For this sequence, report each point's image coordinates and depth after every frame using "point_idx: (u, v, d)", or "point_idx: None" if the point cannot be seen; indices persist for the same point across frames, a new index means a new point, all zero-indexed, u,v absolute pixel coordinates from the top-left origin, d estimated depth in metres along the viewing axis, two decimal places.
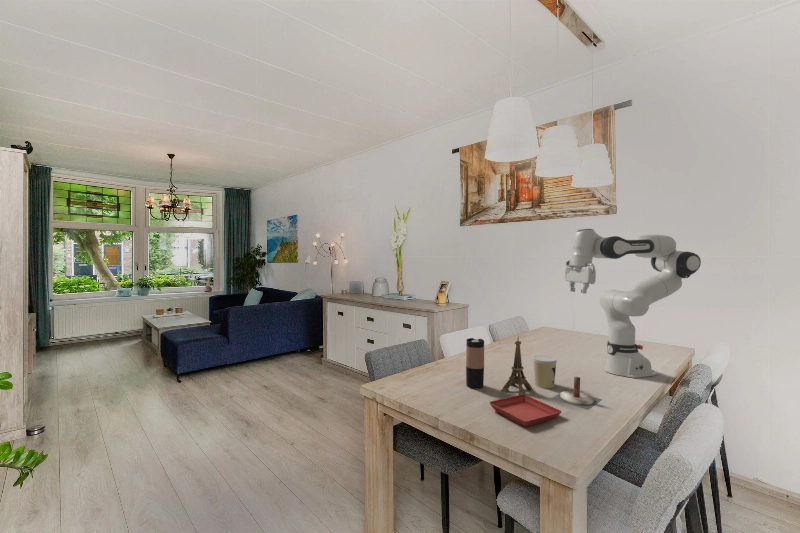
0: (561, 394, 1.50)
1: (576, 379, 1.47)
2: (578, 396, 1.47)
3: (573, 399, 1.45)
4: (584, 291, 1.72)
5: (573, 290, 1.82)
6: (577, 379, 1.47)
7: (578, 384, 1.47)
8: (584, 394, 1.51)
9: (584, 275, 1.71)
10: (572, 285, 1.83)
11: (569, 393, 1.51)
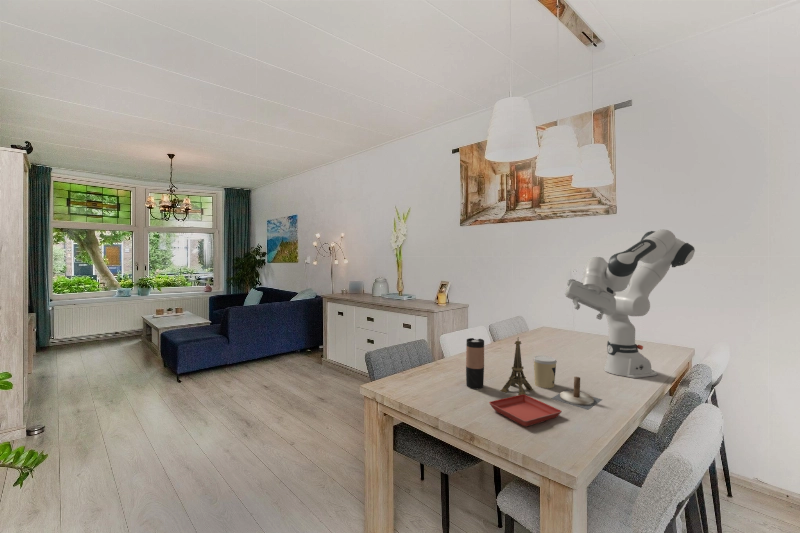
0: (561, 394, 1.50)
1: (576, 379, 1.47)
2: (578, 396, 1.47)
3: (573, 399, 1.45)
4: (575, 306, 1.55)
5: (597, 316, 1.54)
6: (577, 379, 1.47)
7: (578, 384, 1.47)
8: (584, 394, 1.51)
9: None
10: (601, 313, 1.55)
11: (569, 393, 1.51)
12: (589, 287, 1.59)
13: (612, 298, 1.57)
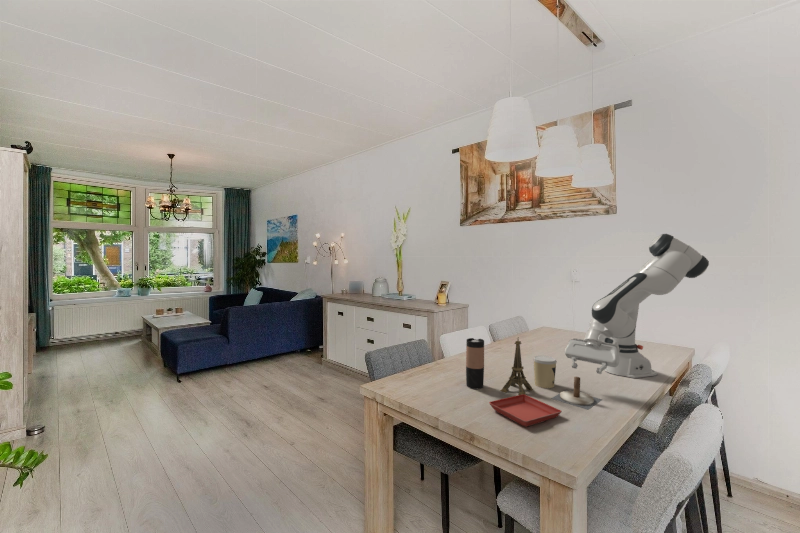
0: (561, 394, 1.50)
1: (576, 379, 1.47)
2: (578, 396, 1.47)
3: (573, 399, 1.45)
4: None
5: None
6: (577, 379, 1.47)
7: (578, 384, 1.47)
8: (584, 394, 1.51)
9: None
10: None
11: (569, 393, 1.51)
12: (587, 342, 1.57)
13: (612, 348, 1.50)
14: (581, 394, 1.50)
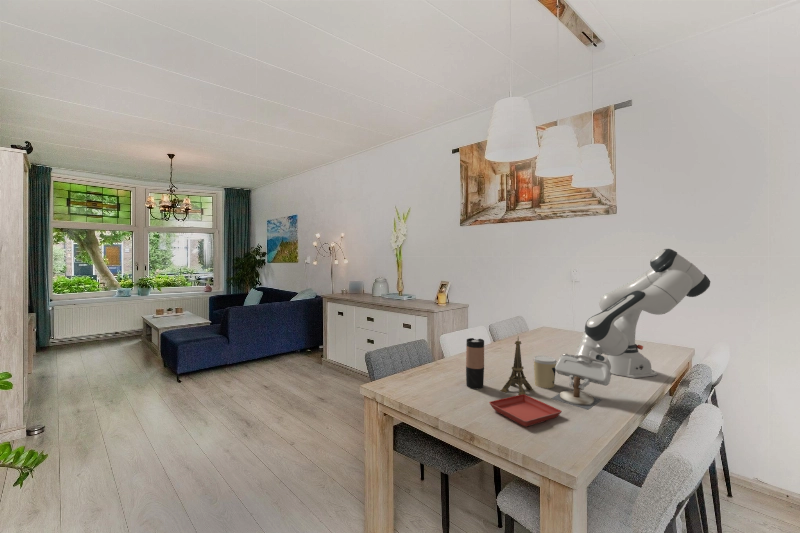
0: (561, 394, 1.50)
1: (576, 379, 1.47)
2: (578, 396, 1.47)
3: (573, 399, 1.45)
4: None
5: None
6: (577, 379, 1.47)
7: (578, 384, 1.47)
8: (584, 394, 1.51)
9: None
10: None
11: (569, 393, 1.51)
12: (578, 359, 1.53)
13: (603, 365, 1.46)
14: (581, 394, 1.50)
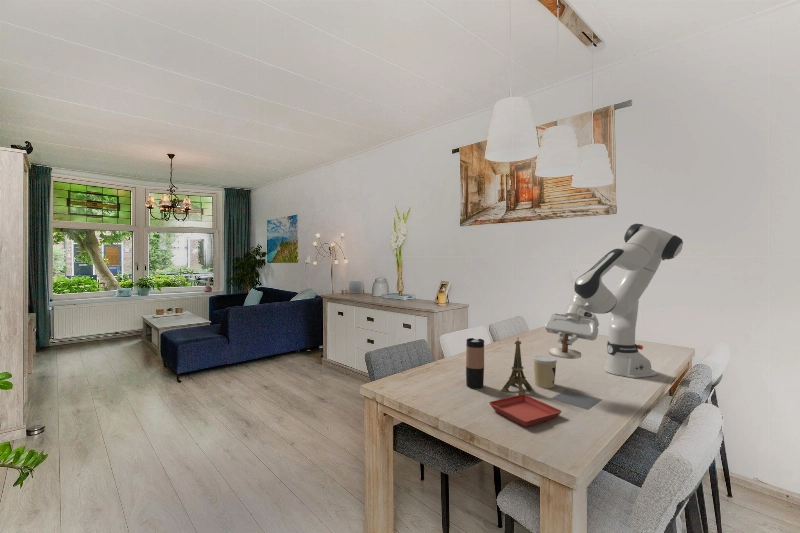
0: (550, 350, 1.55)
1: (564, 335, 1.52)
2: (566, 351, 1.52)
3: (561, 353, 1.50)
4: None
5: None
6: (565, 335, 1.52)
7: (566, 340, 1.52)
8: (572, 350, 1.55)
9: None
10: None
11: (557, 349, 1.56)
12: (567, 317, 1.58)
13: (591, 321, 1.50)
14: (569, 350, 1.55)
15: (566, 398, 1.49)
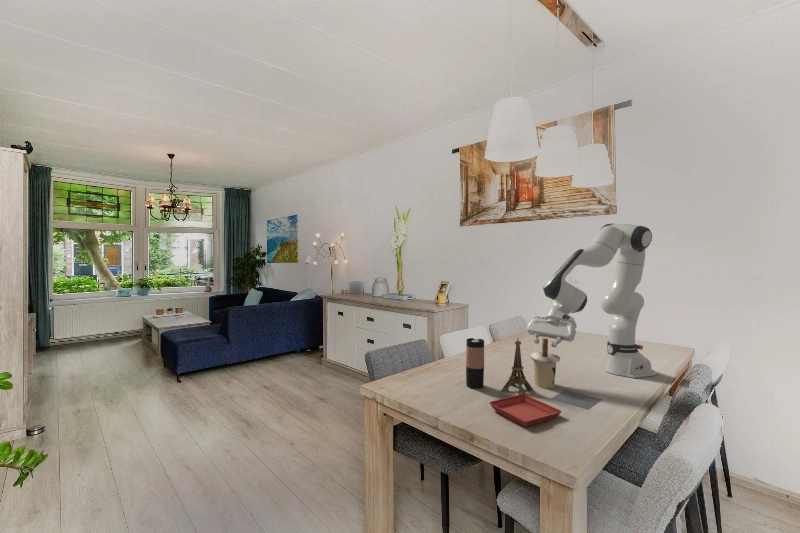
0: (531, 354, 1.65)
1: (544, 340, 1.62)
2: (546, 356, 1.62)
3: (541, 358, 1.60)
4: None
5: None
6: (545, 340, 1.62)
7: (546, 345, 1.62)
8: (552, 354, 1.65)
9: None
10: None
11: (538, 354, 1.66)
12: (547, 319, 1.68)
13: (569, 324, 1.60)
14: (549, 354, 1.65)
15: (566, 398, 1.49)
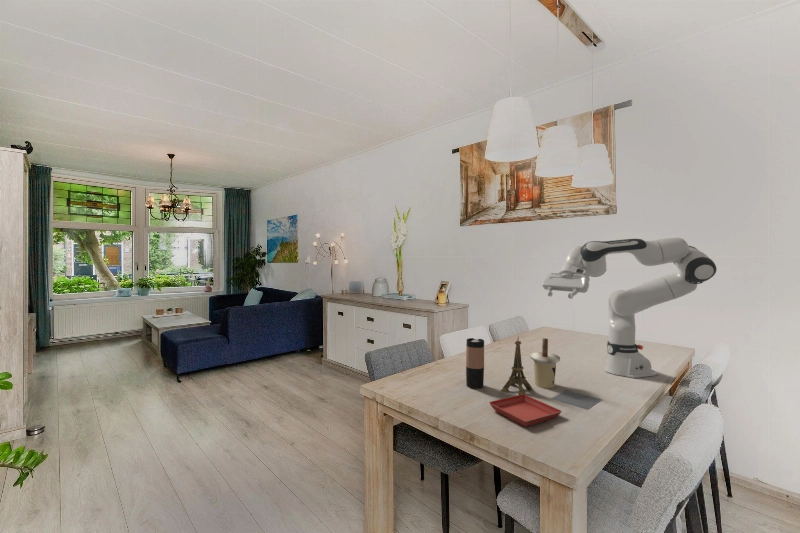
0: (531, 354, 1.65)
1: (544, 340, 1.62)
2: (546, 355, 1.62)
3: (541, 358, 1.60)
4: None
5: None
6: (545, 340, 1.62)
7: (546, 345, 1.62)
8: (552, 354, 1.65)
9: None
10: None
11: (538, 354, 1.66)
12: (561, 274, 1.78)
13: (582, 276, 1.71)
14: (549, 354, 1.65)
15: (566, 398, 1.49)
